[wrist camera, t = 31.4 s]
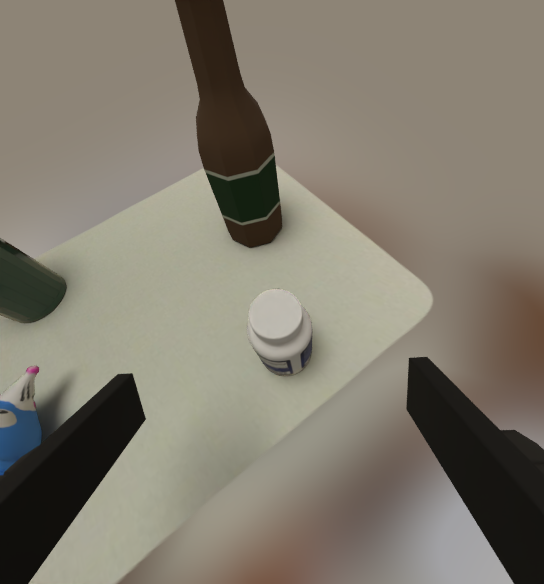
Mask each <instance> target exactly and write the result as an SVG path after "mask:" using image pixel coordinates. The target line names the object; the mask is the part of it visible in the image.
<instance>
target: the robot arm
mask: <svg viewBox="0 0 544 584" xmlns="http://www.w3.org/2000/svg"><path fill="white" fill-rule="evenodd" d="M408 371H409V372H408V390H407V411H408V412H409V414H410V416H411V417H412V419H413V420H414V422H415V424H416V425H417V427H418V428H419V430H420V432H421V433H422V435H423V437H424V438H425V440H426V442H427V443H428V445H429V446H430V448H431V449H432V451H433V453H434V454H435V456H436V458H437V459H438V461H439V463H440V464H441V466H442V467H443V469H444V471H445V472H446V474H447V476H448V477H449V479H450V480H451V482H452V484H453V485H454V487H455V489H456V490H457V492H458V493H459V495H460V497H461V498H462V500H463V502H464V503H465V505H466V506H467V508H468V510H469V511H470V513H471V514H472V516H473V518H474V519H475V521H476V523H477V524H478V526H479V527H480V529H481V530H482V532H483V534H484V536H485V537H486V539H487V540H488V542H489V544H490V545H491V547H492V548H493V550H494V552H495V553H496V555H497V557H498V558H499V560H500V561H501V563H502V564H503V566H504V568H505V569H506V571H507V573H508V574H509V576H510V578H511V579H512V581H513V583H514V584H544V450H543V449H542V448H541V447H540V446H539V445H538V444H537V443H535V442H533V441H532V440H530V439H529V438H527V437H525V436H524V435H522V434H520V433H519V432H517V431H516V430H499V429H498V428H497V427H496V426H495V425H494V424H493V423H492V422H491V421H490V420H489V419H488V418H487V417H486V416H485V415H484V414H483V413H482V412H481V411H480V410H479V409H478V408H477V407H476V406H475V405H474V404H473V403H472V402H471V401H470V400H469V399H468V398H467V397H466V396H465V395H464V394H463V393H462V392H461V391H460V390H459V388H458V387H457V386H456V385H454V383H453V382H452V381H450V380H449V378H448V377H447V376H446V375H444V374H443V372H442V371H440V369H439V368H438V367H436V365H434V363H433V362H432V361H431V360H430V359H428V357H417V358H409V370H408ZM145 420H146V418H145V415H144V412H143V408H142V405H141V401H140V398H139V394H138V391H137V387H136V384H135V381H134V377H133V374H132V373H130V374H118V375H116V376H115V377H114V378H113V379H112V380H111V381H110V382H109V383H108V384H107V385H105V386H104V387H103V388H102V389H101V390H100V391H99V392H98V393H97V394H96V395H94V396H93V397H92V398H91V399H90V400H89V401H88V402H87V403H86V404H85V405H83V406H82V407H81V408H80V409H79V410H78V411H77V412H76V413H75V414H74V415H72V416H71V417H70V418H69V419H68V420H67V421H66V422H65V423H64V424H63V425H61V426H60V427H59V428H58V429H57V430H56V431H55V432H54V433H53V434H52V435H50V436H49V437H48V438H47V439H46V440H45V441H44V442H43V443H42V444H41V445H39V446H37V447H36V448H34V449H33V450H31V451H30V452H28V453H27V454H25V455H24V456H22V457H21V458H19V459H18V460H17V461H16V462H15V463H14V464H13V465H12V466H10V467H9V468H8V469H7V470H6V471H5V472H4V474H3V475H0V584H28V583H29V582H30V580H31V579H32V578H33V576H34V575H35V573H36V572H37V571H38V569H39V568H40V566H41V565H42V564H43V562H44V561H45V559H46V558H47V557H48V555H49V554H50V552H51V551H52V550H53V548H54V547H55V545H56V544H57V543H58V541H59V540H60V538H61V537H62V536H63V534H64V533H65V531H66V530H67V529H68V527H69V526H70V524H71V523H72V522H73V520H74V519H75V517H76V516H77V515H78V513H79V512H80V510H81V509H82V508H83V506H84V505H85V503H86V502H87V501H88V499H89V498H90V496H91V495H92V494H93V492H94V491H95V489H96V488H97V487H98V485H99V484H100V482H101V481H102V480H103V478H104V477H105V475H106V474H107V473H108V471H109V470H110V468H111V467H112V466H113V464H114V463H115V461H116V460H117V459H118V457H119V456H120V454H121V453H122V452H123V450H124V449H125V448H126V446H127V445H128V443H129V442H130V441H131V439H132V438H133V436H134V435H135V434H136V432H137V431H138V429H139V428H140V427H141V425H142V424H143V422H144V421H145Z"/></svg>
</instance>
